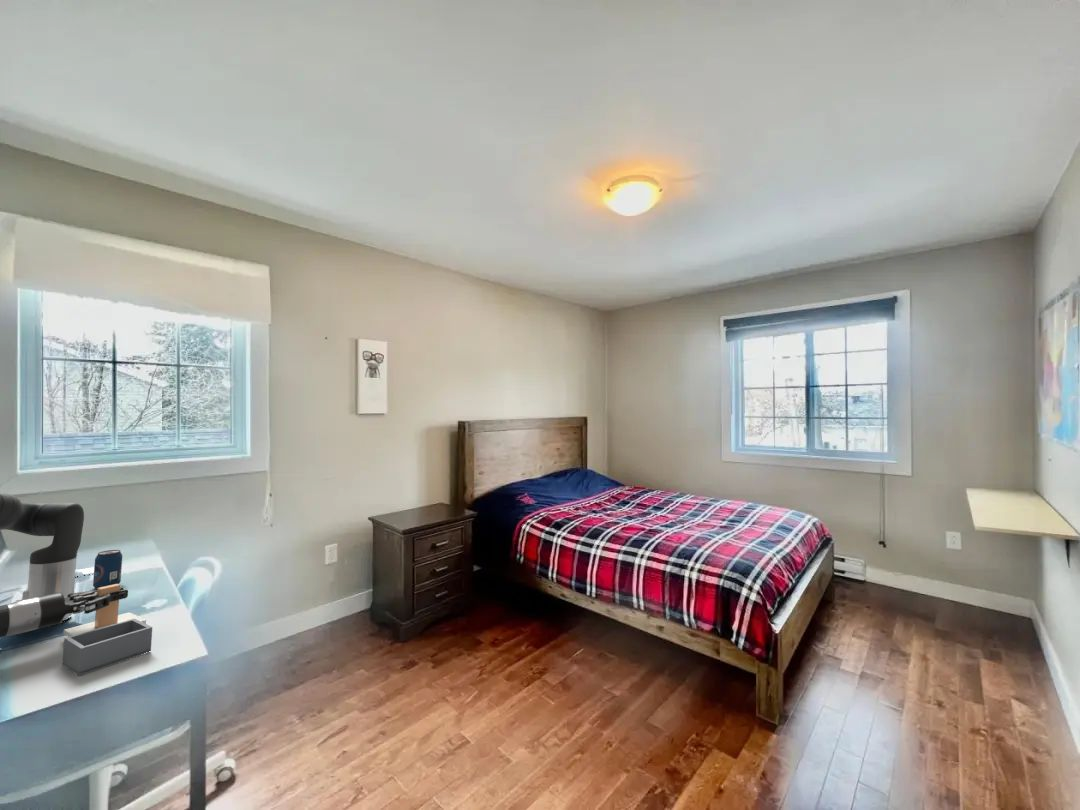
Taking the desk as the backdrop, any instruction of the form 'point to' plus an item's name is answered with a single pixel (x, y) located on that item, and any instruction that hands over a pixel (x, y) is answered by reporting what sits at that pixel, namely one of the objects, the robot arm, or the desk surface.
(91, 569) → the external hard drive
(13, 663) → the desk surface
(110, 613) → the lid
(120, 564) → the soda can
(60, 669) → the desk surface
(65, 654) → the tub
